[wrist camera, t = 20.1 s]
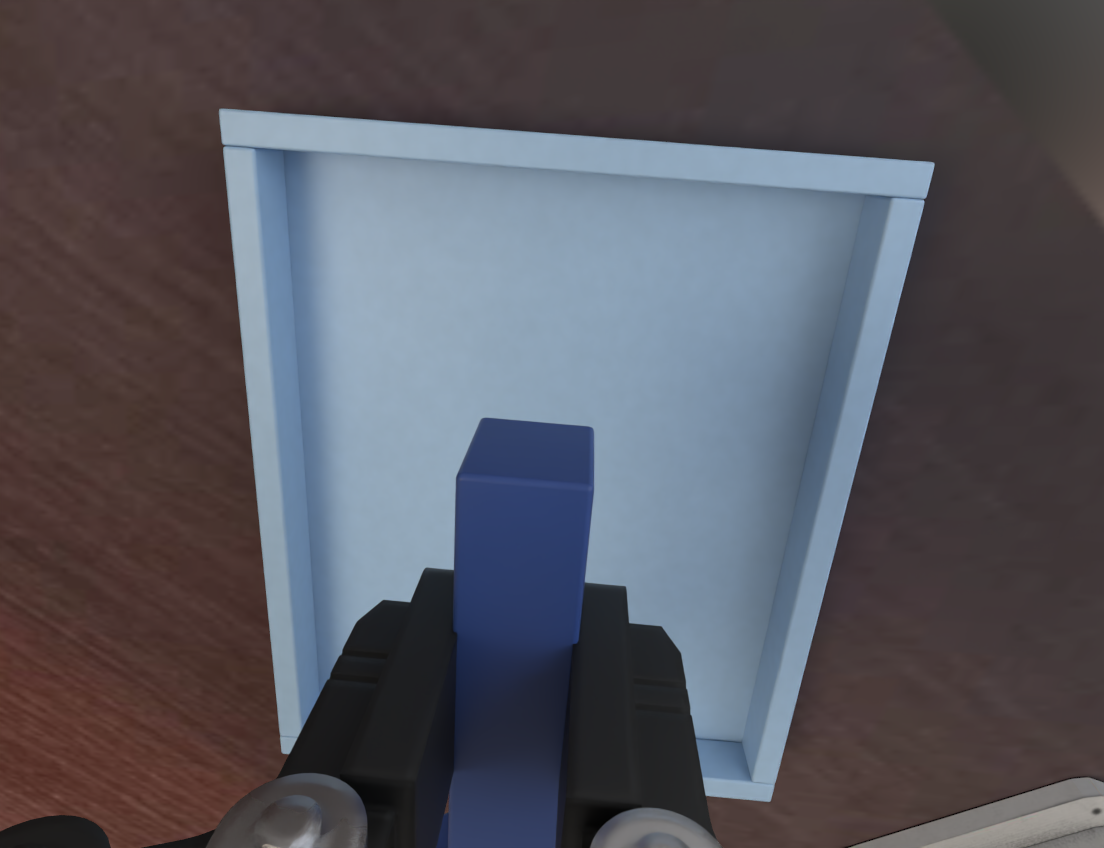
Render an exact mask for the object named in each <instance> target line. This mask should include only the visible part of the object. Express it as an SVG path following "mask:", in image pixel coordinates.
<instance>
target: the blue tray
mask: <svg viewBox="0 0 1104 848" xmlns="http://www.w3.org/2000/svg"><path fill="white" fill-rule="evenodd" d="M219 118H220V128H221V138H222V144H223V145H225V147H224V148H223V154H224V164H225V175H226V185H227V195H228V206H229V216H230V226H231V236H232V247H233V257H234V267H235V278H236V288H237V298H238V308H239V319H240V329H241V339H242V349H243V360H244V370H245V380H246V391H247V401H248V411H249V421H250V432H251V442H252V452H253V463H254V473H255V483H256V493H257V504H258V514H259V524H260V534H261V545H262V555H263V565H264V576H265V586H266V596H267V606H268V617H269V627H270V637H271V648H272V658H273V668H274V678H275V689H276V699H277V709H278V720H279V730H280V735H281V736H280V741H281V751H282V753H283V754H290V752H291V750H292V748H293V746H294V744H295V742H296V740H297V738H298V736H299V734H300V732H301V730H302V728H303V726H304V724H305V722H306V720H307V718H308V716H309V714H310V712H311V710H312V708H313V707H314V705H315V703H316V701H317V699H318V697H319V695H320V693H321V691H322V689H323V687H324V685H325V683H326V681H327V679H330V673H331V671H332V669H333V667H334V665H335V663H336V661H337V659H338V657H339V655H342V649H343V647H344V645H345V643H346V641H347V639H348V638H349V636H350V634H351V632H352V630H353V628H354V626H355V624H356V622H357V621H358V620H359V619H360V618H362V617H363V616H364V615H365V614H366V613H368V612H369V611H370V610H371V609H372V608H374V607H375V606H376V605H377V604H379V603H380V602H381V601H382V600H392V601H403V602H411V599H412V597H413V594H414V592H415V589H416V587H417V584H418V582H419V580H420V577H421V575H422V572H423V570H424V569H425V568H426V567H427V568H438V569H449V570H454V538H455V492H456V476H457V473H458V471H459V469H460V466H461V464H462V462H463V459H464V457H465V455H466V452H467V450H468V448H469V445H470V443H471V441H472V438H473V436H474V434H475V431H476V429H477V427H478V424H479V422H480V420H481V419H482V418H485V417H486V418H498V419H509V420H521V421H532V422H544V423H556V424H567V425H579V426H589V427H592V428H593V430H594V497H593V507H592V517H591V526H590V536H589V546H588V555H587V565H586V575H585V582H586V583H597V584H608V585H618V586H626V589H627V601H628V615H629V623H633V624H643V625H654V626H662V628H663V629H664V630H665V632H666V633H667V634H668V636H669V637H670V639H671V640H672V641H673V643H674V644H675V645H676V647H677V648H678V650H679V651H680V652H681V656H682V662H683V667H684V673H685V679H686V689H687V690H688V696H689V702H690V708H691V710H690V715H692V719H693V725H694V731H695V737H696V743H697V748H698V754H699V760H700V766H701V771H702V777H703V783H704V789H705V795H706V796H715V797H725V798H735V799H745V800H755V801H765V802H770V801H771V798H772V794H773V790H774V786H775V785H774V784H775V782H776V778H777V774H778V770H779V767H780V763H781V759H782V755H783V751H784V747H785V743H786V739H787V735H788V732H789V728H790V724H791V720H792V716H793V712H794V708H795V704H796V700H797V697H798V693H799V689H800V685H801V681H802V677H803V673H804V669H805V666H806V662H807V658H808V654H809V650H810V646H811V642H812V638H813V634H814V631H815V627H816V623H817V619H818V615H819V611H820V607H821V603H822V599H823V596H824V592H825V588H826V584H827V580H828V576H829V572H830V568H831V564H832V561H833V557H834V553H835V549H836V545H837V541H838V537H839V533H840V530H841V526H842V522H843V518H844V514H845V510H846V506H847V502H848V498H849V495H850V491H851V487H852V483H853V479H854V475H855V471H856V467H857V463H858V460H859V456H860V452H861V448H862V444H863V440H864V436H865V432H866V428H867V425H868V421H869V417H870V413H871V409H872V405H873V401H874V397H875V394H876V390H877V386H878V382H879V378H880V374H881V370H882V366H883V362H884V359H885V355H886V351H887V347H888V343H889V339H890V335H891V331H892V327H893V324H894V320H895V316H896V312H897V308H898V304H899V300H900V296H901V293H902V289H903V285H904V281H905V277H906V273H907V269H908V265H909V261H910V258H911V254H912V250H913V246H914V242H915V238H916V234H917V230H918V226H919V223H920V219H921V215H922V211H923V207H924V200H922V199H925V198H926V196H927V193H928V189H929V185H930V181H931V177H932V174H933V170H934V163H933V162H924V161H910V160H897V159H884V158H871V157H858V156H844V155H831V154H818V153H805V152H791V151H778V150H765V149H752V148H739V147H725V146H712V145H699V144H686V143H672V142H659V141H646V140H633V139H620V138H606V137H593V136H580V135H567V134H553V133H540V132H527V131H514V130H501V129H487V128H474V127H461V126H448V125H434V124H421V123H408V122H395V121H381V120H368V119H355V118H342V117H329V116H315V115H302V114H289V113H276V112H262V111H249V110H236V109H223V108H222V109H220V110H219Z"/></svg>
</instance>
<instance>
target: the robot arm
mask: <svg viewBox="0 0 1104 848" xmlns="http://www.w3.org/2000/svg"><path fill="white" fill-rule="evenodd" d="M453 585H454V570H449V569H438V568H427V567H426V568H425V569H424V570H423V572H422V575H421V577H420V580H419V582H418V584H417V587H416V589H415V592H414V594H413V597H412V599H411V602H403V601H392V600H382V601H381V602H380V603H379V604H377V605H376V606H375V607H374V608H372V609H371V610H370V611H369V612H368V613H366V614H365V615H364V616H363V617H362V618H360V619H359V620H358V621H357V622H356V624H355V626H354V628H353V630H352V632H351V634H350V636H349V638H348V639H347V641H346V643H345V645H344V647H343V649H342V655H339V657H338V659H337V661H336V663H335V665H334V667H333V669H332V671H331V673H330V679H327V681H326V683H325V685H324V687H323V689H322V691H321V693H320V695H319V697H318V699H317V701H316V703H315V705H314V707H313V708H312V710H311V712H310V714H309V716H308V718H307V720H306V722H305V724H304V726H303V728H302V730H301V732H300V734H299V736H298V738H297V740H296V742H295V744H294V746H293V748H292V750H291V752H290V754H289V756H288V758H287V760H286V762H285V764H284V766H283V768H282V770H281V772H280V774H279V775H278V777H277V778H276V779H275V780H273V781H270V782H268V783H265V784H263V785H262V786H260V787H258V788H256V789H254V790H253V791H251V792H250V793H248V794H247V795H246V796H244V797H243V798H242V799H240V800H239V801H238V802H237V803H236V804H235V805H234V806H233V807H232V808H231V809H230V810H229V811H228V812H227V814H226V815H225V816H224V817H223V818H222V820H221V821H220V823H219V825H218V826H217V828H216V829H215V830H212V831H210V832H207V833H204V834H202V835H199V836H195V837H192V838H188V839H184V840H179V841H174V842H169V843H164V844H159V845H153V846H148V847H143V848H436V847H437V843H438V838H439V834H440V829H441V825H442V821H443V816H444V812H445V807H446V803H447V799H448V794H449V790H450V785H451V781H452V777H453V772H454V734H455V696H456V657H457V633H456V632H454V631H453ZM690 710H691V708H690V702H689V696H688V690H687V689H686V679H685V673H684V667H683V662H682V656H681V652H680V651H679V650H678V648H677V647H676V645H675V644H674V643H673V641H672V640H671V639H670V637H669V636H668V634H667V633H666V632H665V630H664V629H663V628H662V626H654V625H643V624H633V623H629V615H628V601H627V589H626V586H618V585H608V584H597V583H586V582H585V584H584V594H583V604H582V613H581V623H580V633H579V641H578V642H577V643H576V644H573V649H572V659H571V669H570V679H569V688H568V698H567V708H566V718H565V728H564V737H563V747H562V757H561V767H560V777H559V789H558V807H557V824H556V842H555V848H723V847H722V846H721V845H720V844H719V843H718V841H717V839H716V836H715V834H714V832H713V829H712V825H711V822H710V818H709V812H708V806H707V800H706V795H705V789H704V783H703V777H702V771H701V766H700V760H699V754H698V748H697V743H696V737H695V731H694V725H693V719H692V715H690ZM0 848H111V847H110V844H109V840H108V837H107V836H106V834H105V833H104V831H103V830H102V829H101V828H100V827H99V826H98V825H97V824H95V823H94V822H92V821H89V820H87V819H85V818H81V817H76V816H65V815H58V816H48V817H42V818H38V819H33V820H29V821H26V822H23V823H20V824H17V825H14V826H12V827H9V828H7V829H5V830H3V831H0Z"/></svg>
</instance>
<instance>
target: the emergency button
mask: <svg viewBox="0 0 1104 848" xmlns="http://www.w3.org/2000/svg"><path fill="white" fill-rule="evenodd" d="M849 848H1104V783H1103V782H1100V781H1098V780H1095V779H1092V778H1089V777H1085V778H1075V779H1069V780H1066V781H1063V782H1059V783H1056V784H1053V785H1050V786H1046V787H1043V788H1040V789H1037V790H1033V791H1030V792H1027V793H1024V794H1021V795H1017V796H1014V797H1011V798H1008V799H1004V800H1001V801H998V802H995V803H991V804H988V805H985V806H982V807H978V808H975V809H972V810H969V811H965V812H962V813H959V814H956V815H952V816H949V817H946V818H943V819H940V820H936V821H933V822H930V823H927V824H923V825H920V826H917V827H914V828H910V829H907V830H904V831H901V832H897V833H894V834H891V835H888V836H884V837H881V838H878V839H875V840H872V841H868V842H865V843H862V844H859V845H855V846H852V847H849Z"/></svg>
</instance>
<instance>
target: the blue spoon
mask: <svg viewBox="0 0 1104 848" xmlns="http://www.w3.org/2000/svg"><path fill="white" fill-rule="evenodd" d="M593 497H594V430H593V428H592V427H589V426H579V425H567V424H556V423H544V422H532V421H521V420H509V419H498V418H486V417H485V418H482V419H481V420H480V422H479V424H478V427H477V429H476V431H475V434H474V436H473V438H472V441H471V443H470V445H469V448H468V450H467V452H466V455H465V457H464V459H463V462H462V464H461V466H460V469H459V471H458V473H457V476H456V492H455V538H454V585H453V631H454V632H456V633H457V657H456V696H455V734H454V772H453V777H452V781H451V785H450V790H449V812H448V813H446V814H444V816H443V821H442V825H441V829H440V834H439V838H438V843H437V847H436V848H555V842H556V824H557V807H558V789H559V777H560V767H561V757H562V747H563V737H564V728H565V718H566V708H567V698H568V688H569V679H570V669H571V659H572V649H573V644H576V643H577V642H578V641H579V633H580V623H581V613H582V604H583V594H584V584H585V575H586V565H587V555H588V546H589V536H590V526H591V517H592V507H593Z"/></svg>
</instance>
